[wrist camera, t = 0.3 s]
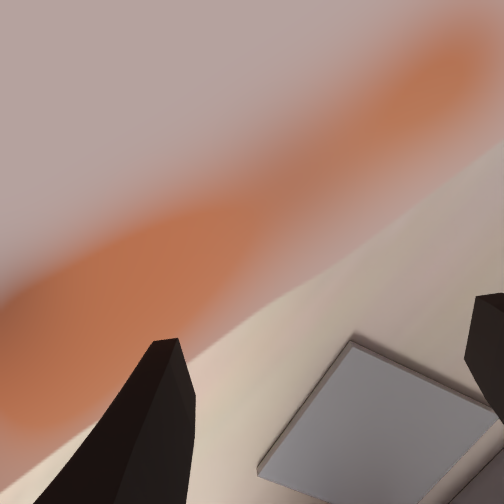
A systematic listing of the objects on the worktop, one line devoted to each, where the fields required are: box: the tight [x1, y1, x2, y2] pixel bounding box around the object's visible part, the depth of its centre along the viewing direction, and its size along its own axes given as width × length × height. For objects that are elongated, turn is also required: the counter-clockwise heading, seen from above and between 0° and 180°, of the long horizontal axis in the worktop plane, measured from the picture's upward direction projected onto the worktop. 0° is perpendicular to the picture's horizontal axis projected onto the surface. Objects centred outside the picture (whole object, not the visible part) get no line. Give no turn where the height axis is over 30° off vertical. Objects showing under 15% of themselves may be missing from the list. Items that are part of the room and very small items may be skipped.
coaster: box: [257, 341, 499, 504], centre depth 24 cm, size 11×11×1 cm
